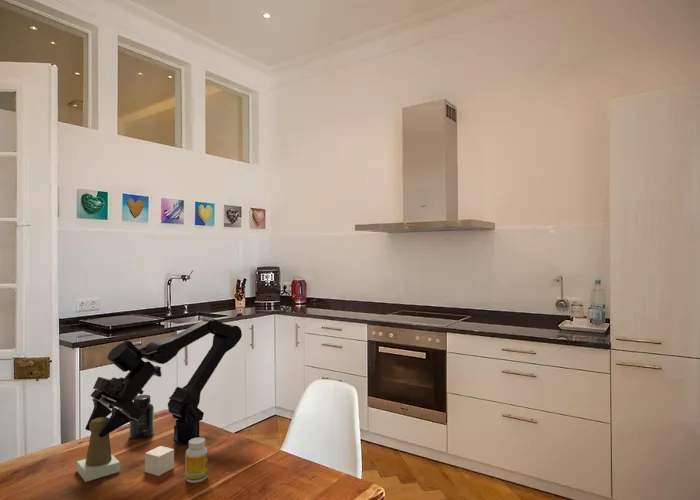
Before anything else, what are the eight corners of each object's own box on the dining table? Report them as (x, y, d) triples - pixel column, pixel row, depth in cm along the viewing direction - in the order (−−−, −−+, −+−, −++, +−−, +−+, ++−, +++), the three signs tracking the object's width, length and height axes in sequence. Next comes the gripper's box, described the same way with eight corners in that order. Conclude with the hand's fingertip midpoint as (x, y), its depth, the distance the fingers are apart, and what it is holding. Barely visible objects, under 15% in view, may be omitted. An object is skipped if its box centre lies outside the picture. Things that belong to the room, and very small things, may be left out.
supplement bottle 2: (184, 475, 118) (184, 438, 118) (205, 471, 120) (206, 434, 120) (186, 485, 113) (187, 446, 113) (209, 480, 116) (209, 442, 116)
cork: (105, 465, 117) (107, 421, 118) (80, 465, 117) (82, 422, 118) (115, 456, 123) (117, 414, 124) (92, 456, 123) (94, 414, 124)
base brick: (109, 461, 126) (110, 452, 126) (119, 471, 120) (119, 461, 120) (76, 470, 120) (76, 461, 120) (85, 481, 114) (85, 471, 114)
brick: (160, 464, 125) (160, 445, 125) (173, 468, 122) (174, 449, 122) (144, 472, 120) (145, 452, 120) (158, 476, 118) (158, 456, 118)
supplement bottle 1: (158, 432, 147) (158, 394, 147) (143, 440, 140) (144, 401, 140) (139, 430, 148) (139, 392, 148) (124, 438, 142) (124, 399, 142)
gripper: (98, 359, 129) (54, 409, 120) (132, 370, 118) (86, 425, 109) (125, 381, 135) (85, 430, 126) (160, 393, 124) (119, 448, 115)
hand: (93, 433), depth 119 cm, fingers open, 7 cm apart
